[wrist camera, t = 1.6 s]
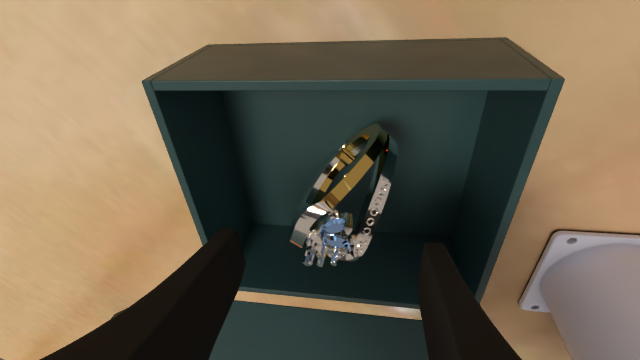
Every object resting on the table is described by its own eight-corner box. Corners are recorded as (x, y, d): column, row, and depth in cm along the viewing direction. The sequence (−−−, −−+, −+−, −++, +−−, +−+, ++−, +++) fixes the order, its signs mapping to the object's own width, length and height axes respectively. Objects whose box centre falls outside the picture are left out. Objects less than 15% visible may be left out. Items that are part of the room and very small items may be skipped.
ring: (328, 196, 21) (305, 303, 15) (290, 167, 21) (248, 267, 14) (411, 127, 18) (428, 229, 11) (369, 88, 17) (361, 174, 10)
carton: (455, 236, 22) (476, 315, 17) (250, 223, 25) (218, 288, 20) (507, 37, 15) (565, 78, 10) (207, 44, 17) (140, 80, 12)
